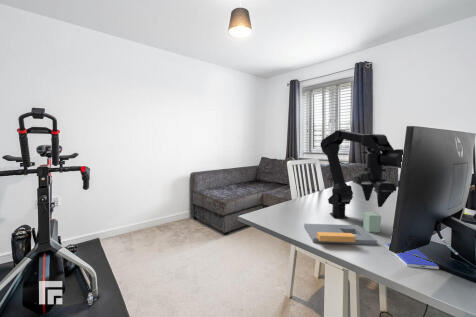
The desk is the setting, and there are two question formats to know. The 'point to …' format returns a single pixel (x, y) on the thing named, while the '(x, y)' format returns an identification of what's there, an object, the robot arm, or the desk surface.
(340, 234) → the bar
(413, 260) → the hard drive
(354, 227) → the socket plate
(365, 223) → the pale green block
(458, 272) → the desk surface
